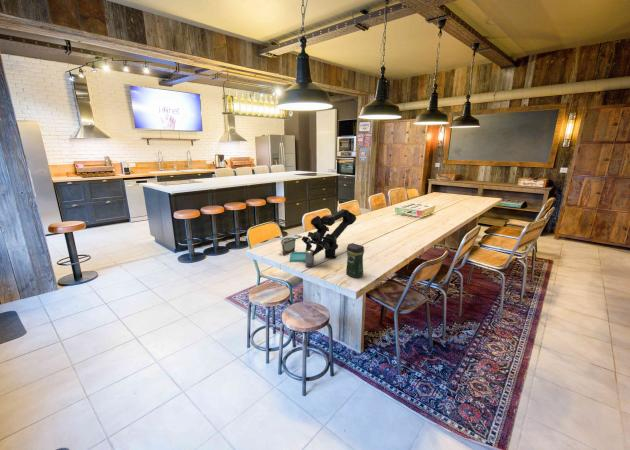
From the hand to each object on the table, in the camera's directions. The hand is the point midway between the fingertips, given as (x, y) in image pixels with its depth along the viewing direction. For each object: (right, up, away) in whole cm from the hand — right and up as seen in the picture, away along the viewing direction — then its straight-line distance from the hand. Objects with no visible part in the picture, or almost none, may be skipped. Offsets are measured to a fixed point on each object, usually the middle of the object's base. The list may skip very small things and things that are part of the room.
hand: (309, 254), depth 180 cm
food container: (-16, -1, +25) cm, 30 cm away
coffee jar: (+26, -11, -10) cm, 30 cm away
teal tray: (-6, -4, +16) cm, 17 cm away
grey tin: (0, -6, +2) cm, 7 cm away
